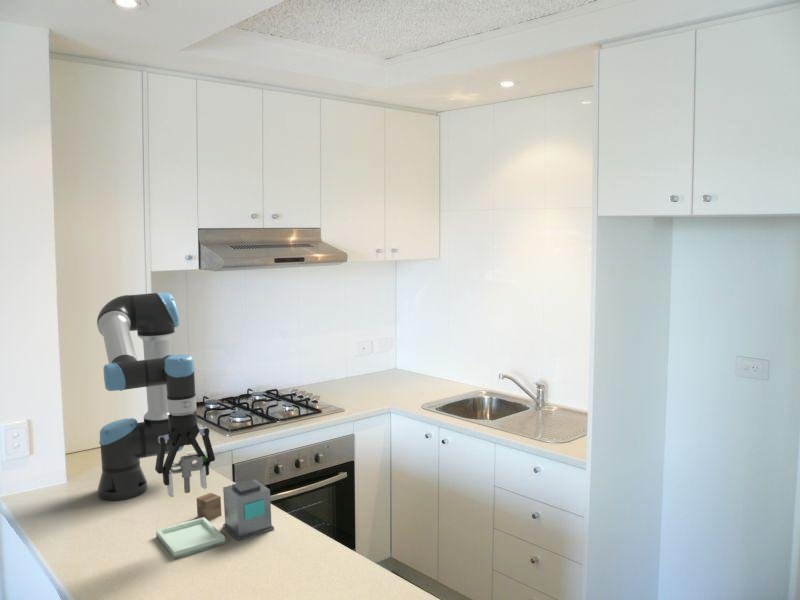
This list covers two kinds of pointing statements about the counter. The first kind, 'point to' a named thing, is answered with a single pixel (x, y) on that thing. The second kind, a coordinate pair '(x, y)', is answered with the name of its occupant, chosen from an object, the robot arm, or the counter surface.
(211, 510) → the walnut block
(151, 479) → the counter surface
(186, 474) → the mechanical component
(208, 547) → the tray
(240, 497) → the unit
